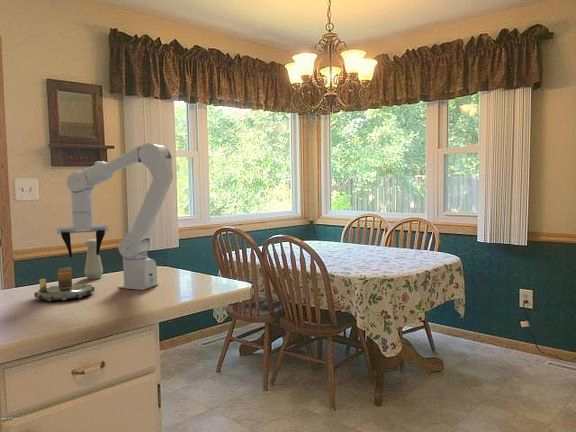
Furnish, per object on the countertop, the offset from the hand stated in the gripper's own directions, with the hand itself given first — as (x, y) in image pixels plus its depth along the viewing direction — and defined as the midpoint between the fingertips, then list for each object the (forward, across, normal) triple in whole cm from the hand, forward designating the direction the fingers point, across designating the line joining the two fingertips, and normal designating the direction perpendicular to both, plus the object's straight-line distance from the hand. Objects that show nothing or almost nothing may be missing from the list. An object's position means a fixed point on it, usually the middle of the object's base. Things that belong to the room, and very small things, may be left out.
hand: (84, 255), depth 151 cm
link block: (+7, +6, +8) cm, 12 cm away
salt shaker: (+10, -3, -11) cm, 15 cm away
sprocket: (+9, +6, +13) cm, 17 cm away
